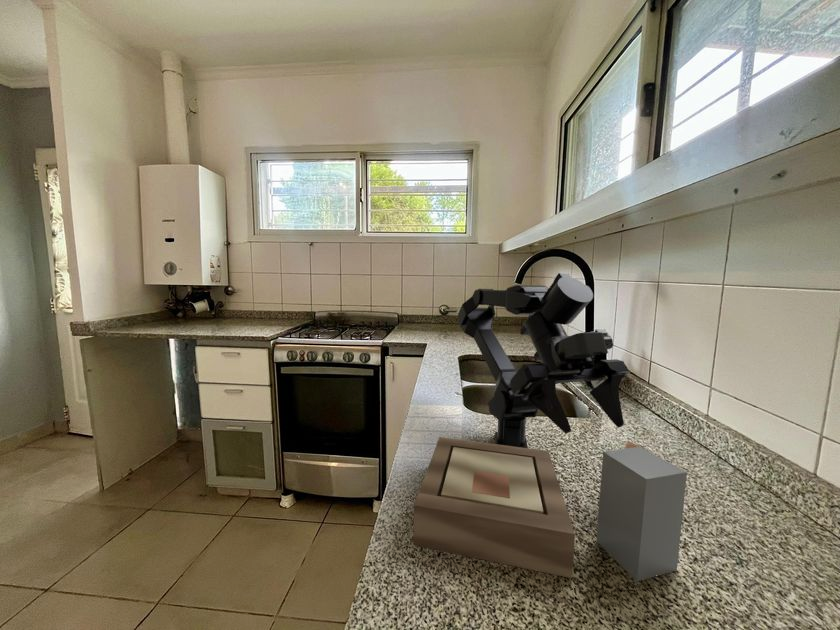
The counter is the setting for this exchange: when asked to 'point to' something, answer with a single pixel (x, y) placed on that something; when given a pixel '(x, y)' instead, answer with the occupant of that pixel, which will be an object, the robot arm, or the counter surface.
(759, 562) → the counter surface
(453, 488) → the trapdoor plate
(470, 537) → the frame
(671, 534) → the grey rectangular block
